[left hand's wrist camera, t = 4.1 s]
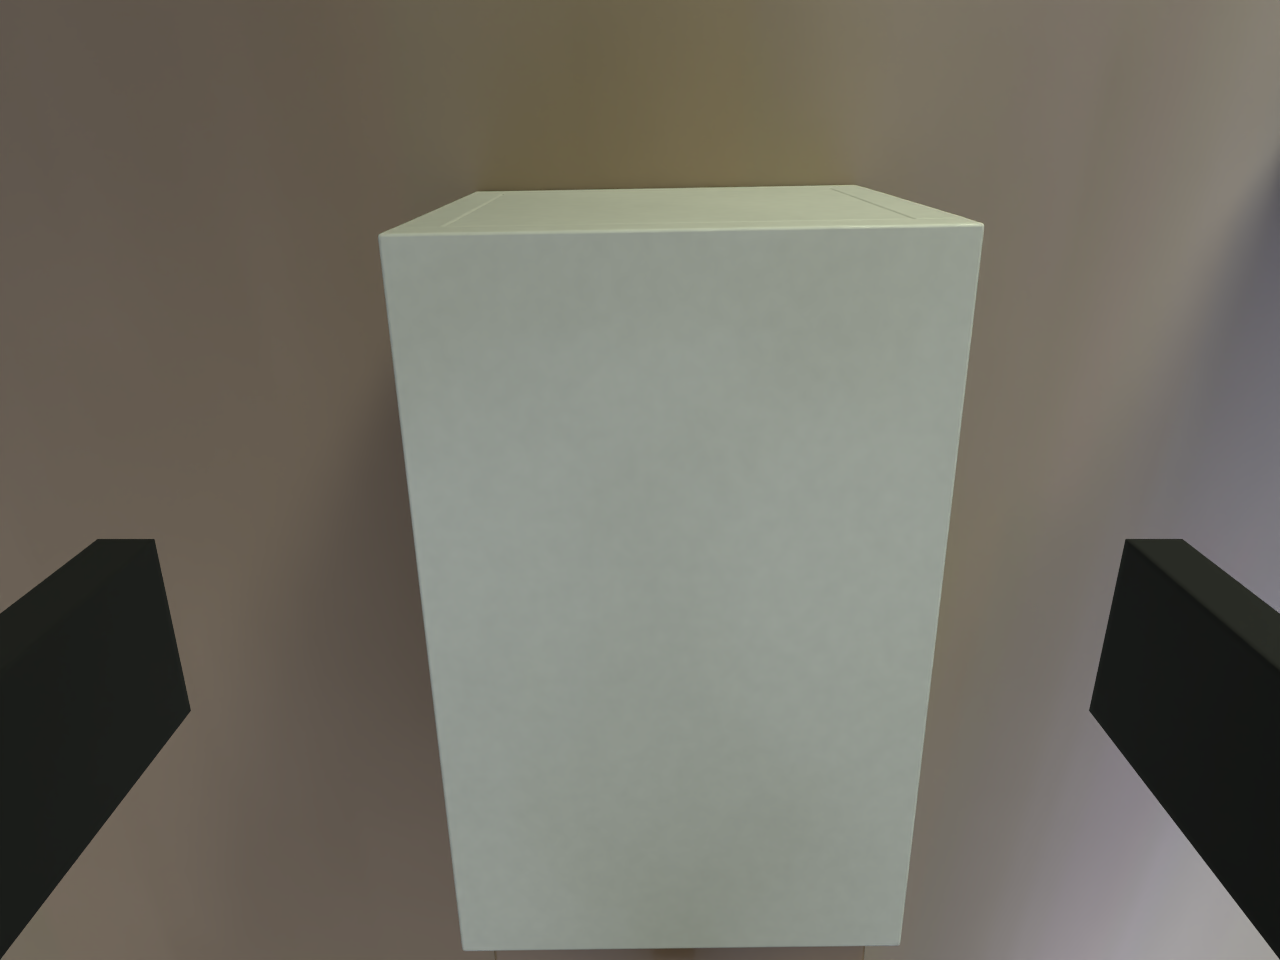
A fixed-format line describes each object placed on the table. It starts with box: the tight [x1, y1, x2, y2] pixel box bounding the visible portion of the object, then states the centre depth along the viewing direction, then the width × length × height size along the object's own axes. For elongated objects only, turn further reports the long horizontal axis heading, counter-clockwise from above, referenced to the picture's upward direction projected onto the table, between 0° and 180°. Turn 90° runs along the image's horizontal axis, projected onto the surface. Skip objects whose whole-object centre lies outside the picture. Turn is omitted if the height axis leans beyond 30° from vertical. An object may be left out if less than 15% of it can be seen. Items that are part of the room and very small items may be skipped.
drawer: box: [494, 946, 865, 960], centre depth 28 cm, size 23×10×9 cm, turn 1°
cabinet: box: [378, 185, 984, 951], centre depth 26 cm, size 18×12×11 cm, turn 1°
